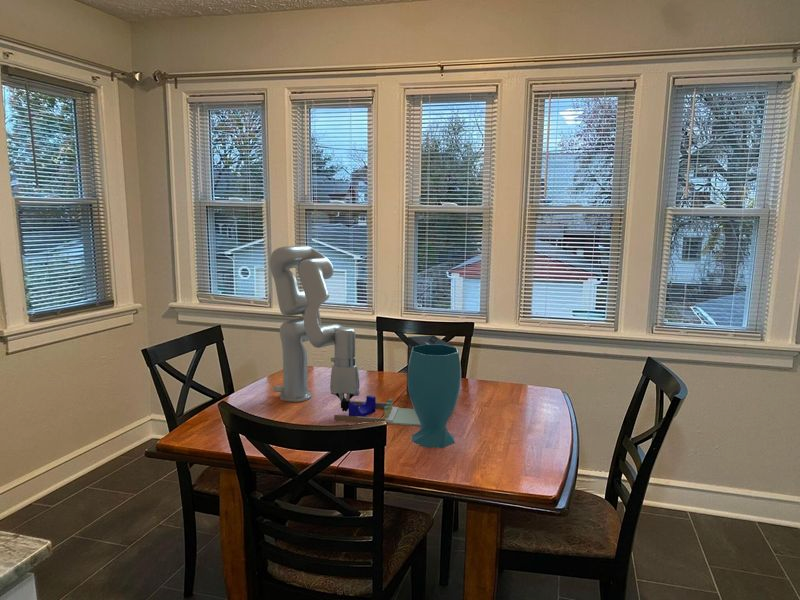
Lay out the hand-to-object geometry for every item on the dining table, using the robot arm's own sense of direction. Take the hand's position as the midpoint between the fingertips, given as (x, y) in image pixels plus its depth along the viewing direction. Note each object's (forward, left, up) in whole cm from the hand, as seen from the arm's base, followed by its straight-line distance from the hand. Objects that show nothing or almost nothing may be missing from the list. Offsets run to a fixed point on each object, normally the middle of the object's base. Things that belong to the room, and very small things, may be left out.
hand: (345, 410), depth 203 cm
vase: (+34, -18, -1) cm, 39 cm away
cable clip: (+6, -1, -2) cm, 6 cm away
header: (+14, 0, -1) cm, 15 cm away
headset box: (+29, +20, -2) cm, 35 cm away
